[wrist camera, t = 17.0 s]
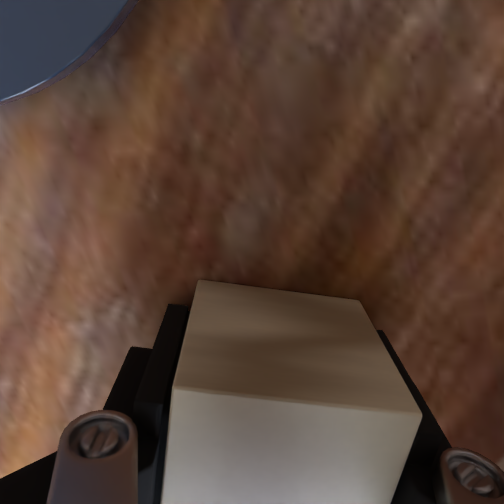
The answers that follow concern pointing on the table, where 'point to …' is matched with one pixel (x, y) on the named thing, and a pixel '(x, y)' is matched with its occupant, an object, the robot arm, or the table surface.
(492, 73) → the table surface
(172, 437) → the block
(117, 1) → the lid
